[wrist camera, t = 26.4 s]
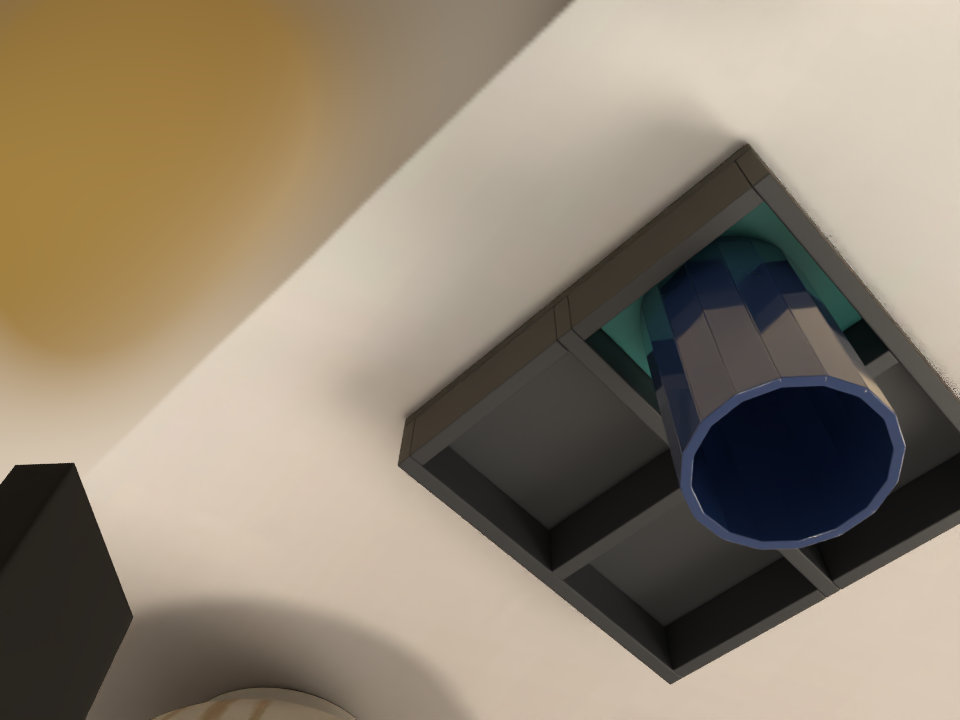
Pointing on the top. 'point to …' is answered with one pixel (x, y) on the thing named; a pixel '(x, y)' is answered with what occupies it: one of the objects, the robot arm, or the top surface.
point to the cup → (765, 400)
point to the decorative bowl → (260, 707)
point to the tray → (645, 450)
